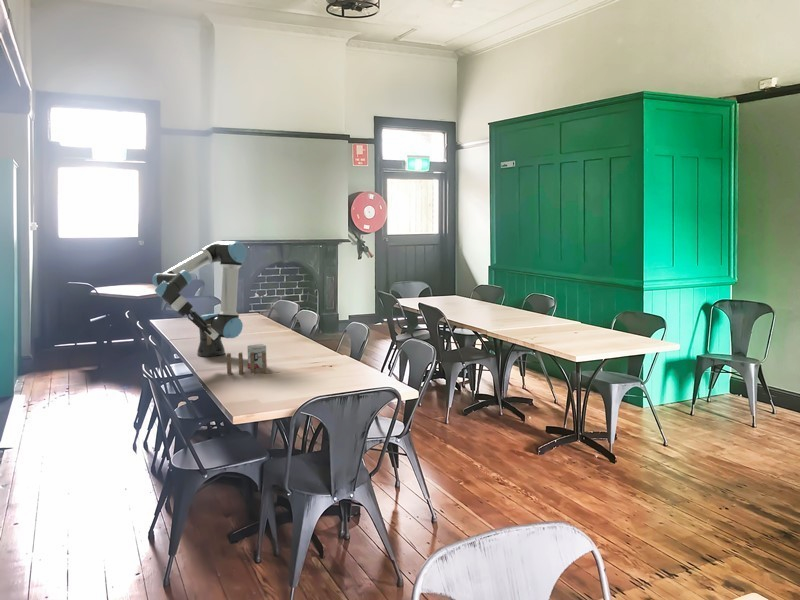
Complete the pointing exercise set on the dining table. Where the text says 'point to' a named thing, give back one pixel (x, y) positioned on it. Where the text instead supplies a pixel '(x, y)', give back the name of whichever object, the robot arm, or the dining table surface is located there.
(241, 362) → the domino
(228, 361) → the domino
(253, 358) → the domino
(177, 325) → the dining table surface
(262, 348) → the ink box
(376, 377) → the dining table surface
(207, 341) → the head domino
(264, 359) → the domino
